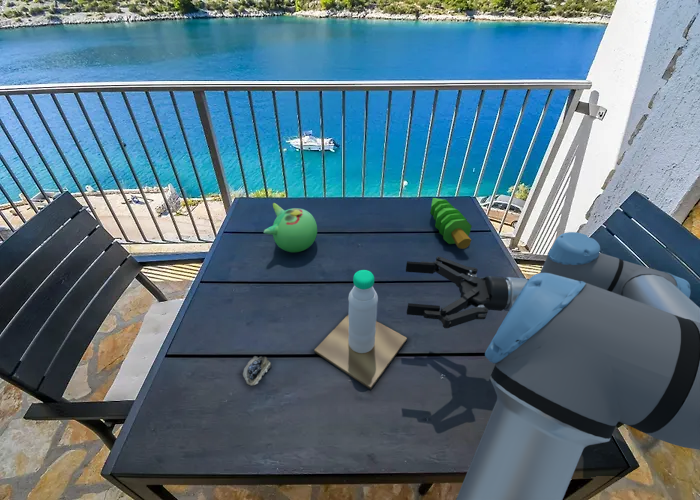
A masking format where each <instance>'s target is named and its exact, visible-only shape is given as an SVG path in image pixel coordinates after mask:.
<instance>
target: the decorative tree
mask: <svg viewBox="0 0 700 500" xmlns="http://www.w3.org/2000/svg"><path fill="white" fill-rule="evenodd" d="M430 205H431V206H430V212H429V214H430V215H431V216H432V217H433V220H434V221H435V224H434V228H436V230H438V233H439V235H441V236H442V239H443V240H444V242H446V243H447V244H448V245H454V244H455V245H456V247H457V248H458V249H461V250H462V249H463V250H464V249H467V248H468V247H469V246H470V245H471V242H472V239H471V238H470V237H469V236H470V233H471V230H472V224H471V223H470V222H469V221H468V219H467V217H465V216H464V214H462V213H461V211H460V210H459V209H458V208H455V207H454V205H452V203H450V202H449V201H448V200H447V199H444V198H443V199H442V198H438V197H437V198H436V197H432V201H431V204H430Z"/></svg>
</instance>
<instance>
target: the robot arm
mask: <svg viewBox="0 0 700 500" xmlns="http://www.w3.org/2000/svg"><path fill="white" fill-rule="evenodd" d="M478 271H479V270H478V268H477V267H474V266H473V267H472V266H467V265H464V264H461V263H459V262H457V261H453V260H451V259H448V258H446V257H444V256H443V257H442V256H439V255H438V256H436V258H435V260H434V261H424V260H422V261H410V260H407V261H406V265H405V272H406V273H416V274H431V275H433V274H435V273H436V274H438V275H440V276H441V277H443V278H445V279H446V280H448V281H449V282H452V283H454V285H455V286H456V287H457V288H458V291H459V293H460V298H458V299H457V300H455V301H454V302H452V303H450V304H448V305H447V306H444V307H441V306H440V305H436V304H435V305H434V304H422V303H412V302H411V303H409V302H408V303H407V308H406V315H408V316H420V317H423V318H424V319H430V320H437V321H440V323H441V324H442V328H444V329H450V328H452V327H456V326H459V325H462V324H466V323H469V322H472V321H475V320H486V319H487V318H486V317H487V316H488V313H489V311H497V312H498V311H499V312H502V311H504V312H507V314H506V315H505V317H504V319H503V320H502V322H501V324H500V325H499V327H498V329H497V331H496V333H495V334H494V336H493V338H492V339H491V341H490V342H489V344H488V346H487V347H486V350H485V352H484V356H485V358H486V359H487V360H488V361H489V362H490V363H492V364H494V367H493V368H492V372H491V374H490V377H489V380H490V382H491V384H492V387H493V389H494V392H495V395H496V401H495V403H494V406H493V408H492V411H491V413H490V416H489V418H488V421H487V423H486V426H485V429H484V431H483V433H482V435H481V438H480V441H479V442H478V445H477V447H476V450H475V452H474V455H473V456H472V457H473V458H472V459H471V462H470V464H469V467H468V469H467V472H466V474H465V477H464V479H463V480H462V481H463V482H462V484H461V486H460V489H459V491H458V494H457V497H456V498H455V500H563V499H564V497H565V495H566V492H567V491H568V487H569V485H570V483H571V480H572V478H573V476H574V473H575V471H576V468H577V466H578V463H579V461H580V458H581V456H582V454H583V451H584V449H585V448H586V447H588V446H593V445H598V444H602V443H608V442H610V441H611V439H612V436H613V434H614V432H615V429H616V427H617V424H618V423H622V424H623V425H626V426H628V427H630V428H633V429H635V430H636V431H639V432H641V433H643V434H645V435H648V436H650V437H652V438H654V439H656V440H658V441H659V440H660V441H661V442H662V441H663V442H665V443H668V444H670V445H674V446H677V447H681V448H686V449H693V450H698V451H699V450H700V306H698V305H697V304H696V303H695V302H694V301H693V300H692V299H690V297H691V291H692V290H691V284H690V283H689V281H688V280H686V279H685V278H683V277H679V276H676V275H674V274H672V273H670V272H667V271H661V270H657V269H654V268H651V267H648V266H643V265H640V264H637V263H635V262H634V263H633V262H629V261H627V260H624V259H621V258H619V257H615V256H612V255H609V254H605V253H602V252H601V246H600V243H599V242H598V241H597V239H594V238H593V237H589V236H588V235H587V234H586V233H585V234H584V233H583V232H582V233H581V232H576V231H568V232H563V233H561V234H560V235H558V236H557V238H556V239H555V241H554V243H553V244H552V246H551V248H550V249H549V251H548V253H547V256H546V258H545V261H544V262H543V265H542V267H541V269H540V272H539V273H536V274H533V275H532V276H531V277H529V278H525V277H524V278H523V277H512V276H506V277H504V276H498V275H497V276H496V275H487V276H485V277H483V278H481V277H479V276H477V275H478ZM471 306H472V307H471ZM469 307H471V308H469Z"/></svg>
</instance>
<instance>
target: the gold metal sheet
mask: <svg viewBox="0 0 700 500" xmlns="http://www.w3.org/2000/svg"><path fill="white" fill-rule="evenodd" d="M375 328H376V332H375V344H374V347H373V348H372V350H370V351H369V352H367V353H357V352H355V351H353V350H352V349H351V348H350V346H349V342H348V339H349V316H348V314H347V315H346V316H345V317H344V318H343V319H342V320H341V321H340V322H339V323H338V324H337V325H336V326H335V327H334V329H333V330H331V331H330V333H328V335H327V336H325V338H324V339H323V340H322V341H321V342H320V343H319V344H318V345H317V346H316V348H314V350H313V352H314V353H315V354H317V355H318V356H320V357H321V358H323V359H324V360H326V361H327V362H329V363H330V364H331V365H333V366H335V367H336V368H338V369H339V370H341V371H342V372H343V373H345V374H347V375H348V376H350V377H351V378H352V379H354V380H356V381H357V382H359V383H360V384H362V385H363V386H365V387H367V389H369V390H372V389H373V387H374V386H375V384H377V382H378V380H379V379H380V377H381V376H382V375H383V373H384V372H385V371H386V369H387V368H388V367H389V366H390V364H391V363H392V361H393V360H394V358H395V357H396V356H397V354H398V353H399V351H400V350H401V349H402V347H403V346H404V345H405V344H406V342H407V341H408V337H406V336H404V335H402V334H401V333H399V332H398V331H395V330H394V329H392V328H390V327H388V326H387V325H384V324H383V323H381V322H379V321H377V320H376V325H375Z"/></svg>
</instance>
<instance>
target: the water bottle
mask: <svg viewBox="0 0 700 500" xmlns="http://www.w3.org/2000/svg"><path fill="white" fill-rule="evenodd" d="M352 281H353V283H352V284H353V287H352V289H351V290H350V291H349V293H348V299H347V300H348V311H347V312H348V314H347V315H348V316H349V339H348V342H349V346H350V348H351V349H352V350H353V351H355V352H357V353H367V352H369V351H370V350H372V348H373V347H374V344H375V332H376V328H375V325H376V321H377V317H378V302H379V296H378V293H377V291H376V290H375V288H374V285H375V275H374V274H373V272H372V271H371V270H369V269H368V270H367V269H360V270H357V271H356V272H355V273H354V275H353V277H352Z"/></svg>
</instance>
